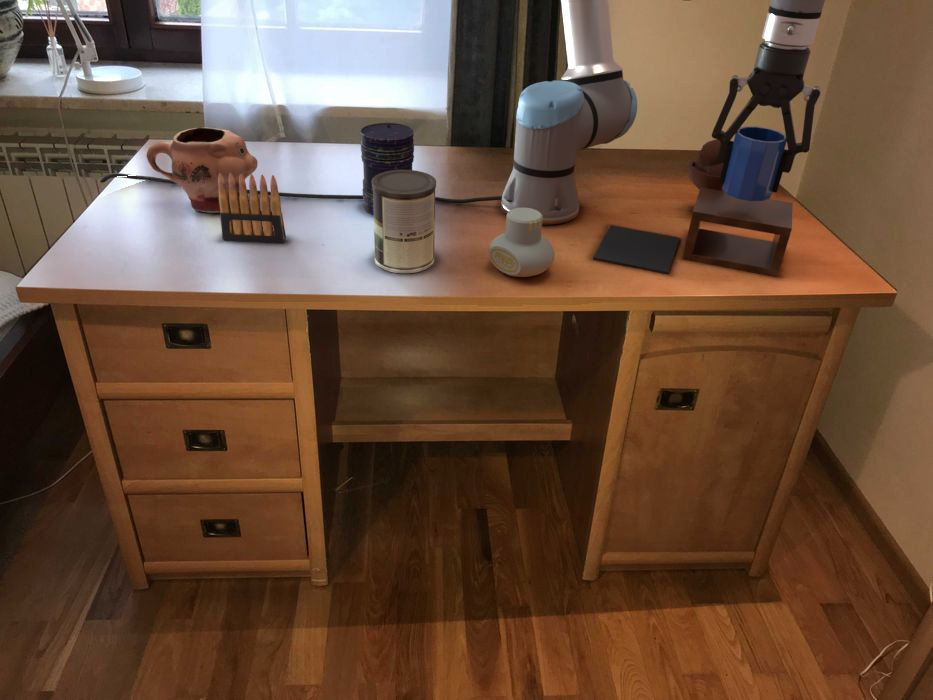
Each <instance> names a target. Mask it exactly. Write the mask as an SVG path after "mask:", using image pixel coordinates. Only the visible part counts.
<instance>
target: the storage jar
mask: <svg viewBox="0 0 933 700" xmlns="http://www.w3.org/2000/svg"><path fill="white" fill-rule="evenodd" d="M414 132H415V131H414V129H413V128H412V127H410V126H408V125H406V124H402V123H395V122H380V123H379V122H377V123H371V124H367V125H365V126H363V127H362V128H361V129H360V137H361V138H360V153H361V161H362V164H363V165H362V167H363V179H362V195H363V199H362V200H363V210H364V212H366V213H367V214H369V215H371V216H374V212H373V187H372V179H373V178H374V177H375V176H376V175H378V174H380V173H383V172H386V171H391V170H413V163H414V160H415V159H414V158H415V155H414V153H415V144H414V141H415V140H414V137H415V136H414V134H415V133H414Z"/></svg>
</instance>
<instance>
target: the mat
mask: <svg viewBox="0 0 933 700" xmlns="http://www.w3.org/2000/svg"><path fill="white" fill-rule="evenodd" d="M680 240H681V237H678V236H673V235H669V234H668V235H667V234H662V233H656V232H652V231H646V230H640V229H635V228H629V227H624V226H619V225H614V224H610V225H609V227H608V228H607V231H606V232H605V235H604V236H603V238H602V240H601V242H600V244H599V245H598V248H597V249H596V251H595V253H594V255H593V256H592V260H594V261H599V262H603V263H610V264H613V265H614V264H615V265H619V266H625V267H630V268H633V269H640V270H645V271H650V272H654V273H660V274H666V275H669V273H670V270H671V267H672V263H673V260H674V258H675V254H676V252H677V249H678V246H679V243H680Z"/></svg>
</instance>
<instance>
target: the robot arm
mask: <svg viewBox="0 0 933 700" xmlns="http://www.w3.org/2000/svg"><path fill="white" fill-rule="evenodd" d="M683 1H687V2H689V1H691V0H683ZM825 2H826V0H770V2H769V7H768V11H767V14H766V18H765V22H764V27H763V30H762V35H761V38H762V40H763V41H762V42H761V43H760V44H759V46H758V50H757V54H756V58H755V62H754V65H753V70H752V71H751V73H749V75H748V76H738V75H736V74H734V75H732V76H731V77H730V81H729V88H728V89H729V90H728V91H729V92H728V94H727V96H726V99H725V102H724V104H723V105H722V108H721V110H720V113H719V115H718V118H717V120H716V122H715V125H714V127H713V129H712V132H711V138H712V139H713V140H715V139H718V140H719V141H720V142H721V146H720V150H719V154H718V158H717V159H718V162H724V163H723V167H722V171H721V175H720V180H719V183H723V182H724V178H725V174H726V170H727V166H728V162H729V159H730V155H731V151H732V147H733V142H734V140H732V139H734V137H735V134H736V132H737V131H738V130H739V128H741V127H743V124H744V123H745V122H746V120H748V118H749V117H750V115H751V114H752V113H753V112H754V110H755V109H756V108H758V106H761V107H769V106H770V107H772V108H775V109H781V115H782V120H783V121H782V122H783V126H784V133H785V135H786V139H787V142H786V145H787V149H786V148H785V149H784V152H783V155H782V159H781V162H780V166H779V169H778V173H777V176H776V180H775V183H774V186H773V190H772V193H778V189H779V187H780V182H781V179H782V177H783V173H786V174H789V173H790V172H791V171H792V168H793V164H794V161H795V158H796V155H797V154H800V153H804V154H805V153H808V152H810V149H811V140H812V132H813V123H814V116H815V115H814V113H815V105H816V104H817V102H818V100H819V98H820V96H821V88H820V86H818V85H815V86H811V85H808V84H805V81H804V76H805V72H806V69H807V66H808V61H809V59H810V55H811V49H810V46H812V45H813V44H814V41H815V37H816V35H817V32H818V31H817V30H818V27H819V23H820V21H821V16H822V12H823V9H824V5H825ZM560 3H561V4H560V5H561V13H562V20H563V21H562V23H563V32H564V40H565V50H566V60H567V69H566V71H565V72H564V73H563V75H562V76H561V80H551V81H549V80H545V81H540V82H535V83H533V84H530V85H529V86H527V87H526V88H524V89H523V90H522V91H521V93H520V96H519V97H518V105H517V109H516V113H515V118H516V120H515V121H516V122H515V134H514V135H515V136H514V150H513V166H512V171H511V173H510V175H509V178H508V180H507V182H506V185H505V187H504V190H503V192H502V195H495V196H494V195H493V196H492V195H491V196H482V197H481V196H480V197H479V196H478V197H471V198H470V197H469V198H463V199H462V198H460V199H459V198H458V199H456V198H445V197H439V196H435V202H440V203H446V204H470V203H476V202H477V203H479V202H489V201H492V202H493V201H500V209H501V211H502V212H503V213H504V214H505V215H506V216H507V213H508V212H509V211H510V210H512V209H515V208H531V209H534V210H537V211H539V212H540V213H541V214H542V216H543V221H542V226H545V225H546V226H548V225H549V226H550V225H559V224H564V223H567V222H570V221H572V220H574V219H575V218H576V217H578V215H579V213H580V198H579V193H578V188H577V184H576V183H577V182H576V179H575V167H576V159H577V152H580V151H583V150H586V149H590V148H592V147H595V146H599V145H606V144H609V143H611V142H613V141H615V140H617V139H619V138H621V137H623V136H624V135H626V134H627V133H628V132H629V130H630V129H631V128H632V126H633V125H634V122H635V120H636V117H637V115H638V114H637V113H638V98H637V95H636V91H635V89H634V88H633V87H631V84H630V82H628V81H627V80H626V79H624V73H623V67H622V66H621V65H620V64H618V63H617V62H616V61H615V59H614V53H613V40H612V29H611V20H610V19H611V18H610V5H609V0H560ZM745 86H748V88H749V90H750V91H749V92H750V93H751V95H752V96H751V97H750V99H749V100H748V101H747V103H745V105H744V107H743V108H742V109H741V111H740V112H739V113H738V115H737V116H736V117H735V118H734V120H733V121H732V123H731V124H730V125H729V127H728V128H727V130H726V131H724V130H723V128H724V126H725V123H726V121H727V118H728V116H729V114H730V111H731V109H732V107H733V105H734V103H735V100H736V98H737V94H738V93H739V92H742V91H743V89H744V87H745ZM801 93H803V100H804V101H805V109H804V110H805V111H804V118H803V125H802V127H803V128H802V137H801V142H797V139H796V135H795V134H796V133H795V127H794V121H793V114H792V108H791V106H792V105H791V101H793V100H794V99H795V98H796V97H797V96H798V95H799V94H801ZM128 175H130V174H128V173H122V172H121V173H120V172H114V173H110V174H107V175H105V176H103V177H102V178H101V179H100V180H99V183H101V184H102V183H106V182H107V181H108V180H110V179H113V178H118V177H117V176H127V177H121V179H130V180H139V181H152V182H159V183H166V184H172V185H178V184H177V183H175V182H173V181H172V180H170V179H169V178H163V177H158V176H149V175H136V174H135V175H136V176H128ZM257 192H258V196H260V190H258V189H257ZM247 193H248V195H250V189H248V188H247ZM278 193H279V197H280V198H281V197H282V198H296V199H297V198H299V199H300V198H301V199H319V200H363V194H320V193H319V194H318V193H315V194H314V193H294V192H280V191H278ZM268 195H269V197H271V191H268Z"/></svg>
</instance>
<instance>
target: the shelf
mask: <svg viewBox="0 0 933 700" xmlns="http://www.w3.org/2000/svg"><path fill="white" fill-rule="evenodd" d="M698 190H699V189H698ZM793 203H794V202H791V201H786V200H779V199H773V198H769V199H767V200H764V201H747V200H742V199H737V198H735V197H732V196H729V195H727V194H726V193H725V192H724V191H719V190H713V189H707V188H700V190H699V191H698V194H697V197H696V199H695V203H694V206H693V209H692V213H691V218H690V222H689V227H688V231H687V236H686V240H685V243H684V244H685V245H684V250H683V253H682V257H681V258H682V260H686V261H692V262H697V263H702V264H708V265H714V266H718V267H723V268H729V269H734V270H739V271H744V272H750V273H755V274H761V275H765V276H771V277H776V278H778V276H779V273H780V270H781V267H782V264H783V261H784V256H785V253H786V250H787V247H788V243H789V240H790V237H791V234H792V231H793V211H794V209H793V208H794V204H793ZM702 222H704V223H708V224H709V223H710V224H715V225H721V226H727V227H731V228H732V227H733V228H736V229H737V228H738V229H743V230H749V231H755V232H761V233H766V234H770V235H771V234H772V235H773V238H772V240H767V239H760V238H756V237H749V236H745V235H739V234H733V233H727V232H722V231H716V230H710V229H705V228H701V224H702Z"/></svg>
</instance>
